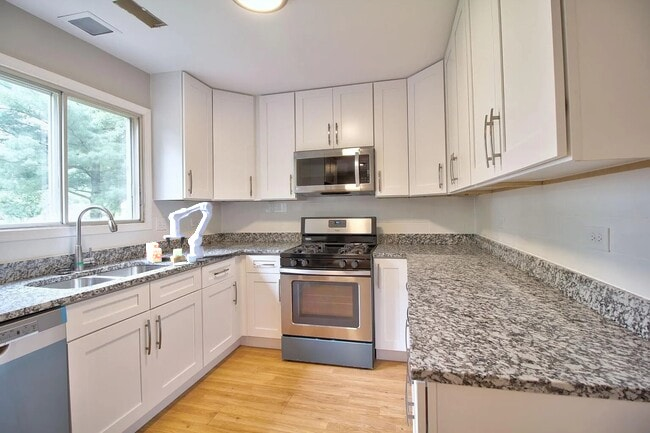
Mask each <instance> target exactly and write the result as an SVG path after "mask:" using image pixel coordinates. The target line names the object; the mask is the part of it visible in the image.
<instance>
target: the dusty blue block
mask: <svg viewBox="0 0 650 433" xmlns="http://www.w3.org/2000/svg"><path fill="white" fill-rule="evenodd" d="M186 258H187V259H186V262H187V261H188V262H192V263H197V258H196V255H195V254H193V255H190V254H187V256H186Z"/></svg>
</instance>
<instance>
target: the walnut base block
mask: <svg viewBox="0 0 650 433" xmlns="http://www.w3.org/2000/svg"><path fill="white" fill-rule="evenodd" d="M182 261H183V262H187V259H186V255H183V254H182V256H181V257H174V255H171V256H170V262H172V264H173V263H182Z"/></svg>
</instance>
